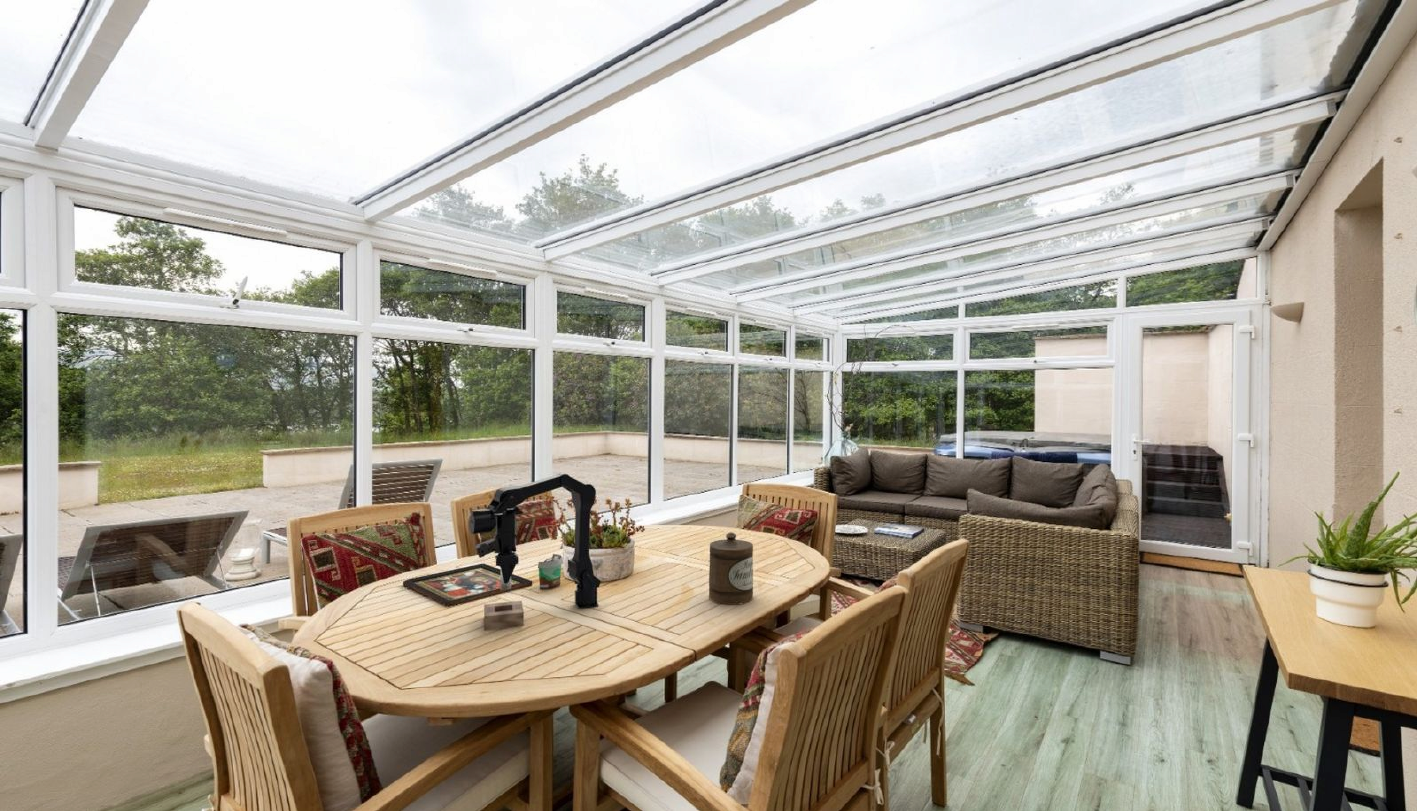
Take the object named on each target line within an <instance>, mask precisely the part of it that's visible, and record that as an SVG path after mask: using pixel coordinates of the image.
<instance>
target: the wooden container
mask: <svg viewBox="0 0 1417 811" xmlns="http://www.w3.org/2000/svg"><path fill="white" fill-rule="evenodd" d="M736 537H737V535H736V533H735V532H728V533H727V534H725V538H726V539H719V540H714V541H712V542H710V543H709V573H708V575H709V576H708V597H709V600H711V601H712V602H714V603H717V604H722V605H731V604H733V605H741V604H740V603H743V604H745V602H746V603H749V602H751V601H752V600H753V598H754V596H753V595H754V546H753V543H752V542H750V541H748V540H742V539H736ZM751 599H752V600H751ZM750 600H751V601H750ZM748 601H749V602H748Z"/></svg>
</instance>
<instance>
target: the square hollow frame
mask: <svg viewBox="0 0 1417 811" xmlns="http://www.w3.org/2000/svg"><path fill="white" fill-rule="evenodd" d="M522 601H523V600H516V601H514V600H513V601H505V602H496V603H486V604H484V606H483V611H484V612H483V613H484V614H483V615H484V616H483V629H484V630H483V631H488V630H497V629H498V630H499V629H505V628H514V627H516V628H517V627H523V626H525V624H524V623H525V622H524V621H525V620H524V618H525V617H524V615H525V614H524V613H525V612H524V607H523V606H524V605H523V602H522Z"/></svg>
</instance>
